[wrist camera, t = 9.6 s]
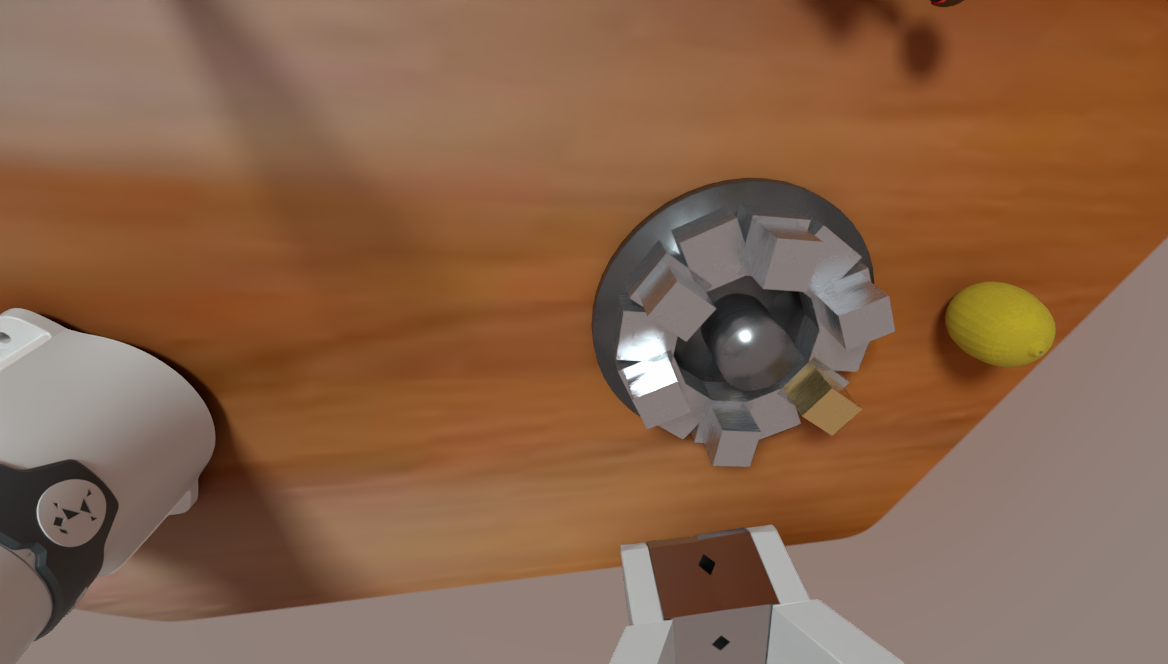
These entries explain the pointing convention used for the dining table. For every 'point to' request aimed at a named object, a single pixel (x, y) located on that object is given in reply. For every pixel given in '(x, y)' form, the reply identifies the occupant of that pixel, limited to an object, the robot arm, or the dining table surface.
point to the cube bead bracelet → (681, 305)
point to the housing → (721, 290)
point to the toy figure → (945, 2)
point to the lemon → (1000, 324)
